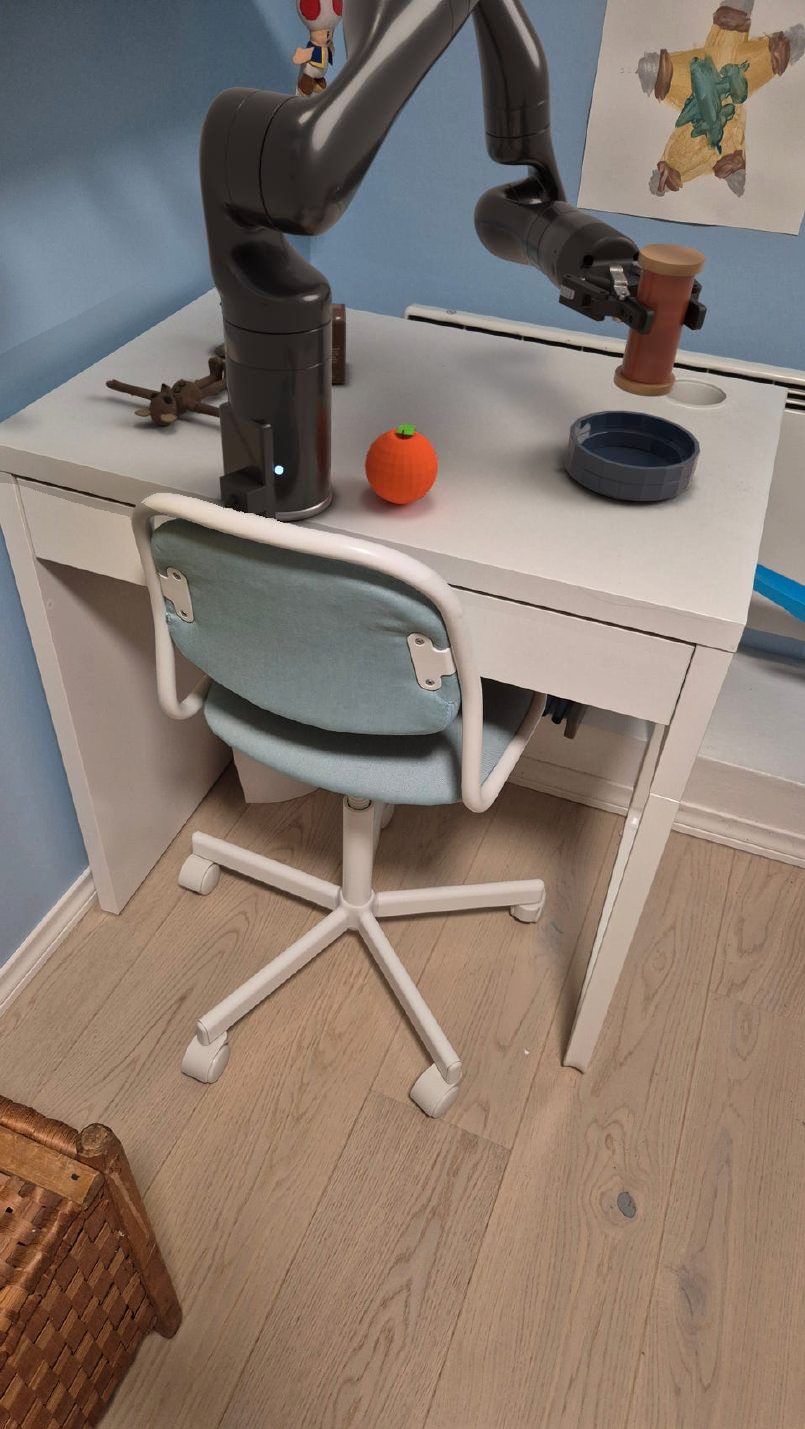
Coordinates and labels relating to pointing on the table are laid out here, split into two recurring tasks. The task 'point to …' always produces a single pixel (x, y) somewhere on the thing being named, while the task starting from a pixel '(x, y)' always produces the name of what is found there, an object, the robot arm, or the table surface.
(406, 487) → the clementine
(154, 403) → the bear figurine
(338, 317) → the box
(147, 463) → the table surface
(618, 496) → the bowl
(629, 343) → the spool
